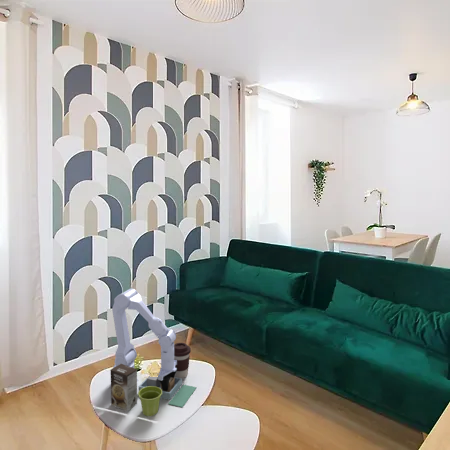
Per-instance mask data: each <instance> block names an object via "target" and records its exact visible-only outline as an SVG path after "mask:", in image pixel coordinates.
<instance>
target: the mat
mask: <svg viewBox="0 0 450 450" xmlns="http://www.w3.org/2000/svg"><path fill="white" fill-rule="evenodd" d="M196 390H197V386H193V385H187V384H182V386H181V387H180V388H179V389H178V391H177V392H176V393H175V394H174V396H173V397H172V398H171V399H170V400H169V402H168V405H170V406H174V407H178V408H184V406H185V405H186V403H187V402H188V401H189V399H190V398H191V396H192V395H193V394H194V392H195V391H196Z"/></svg>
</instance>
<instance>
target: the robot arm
mask: <svg viewBox="0 0 450 450" xmlns="http://www.w3.org/2000/svg"><path fill="white" fill-rule="evenodd" d="M138 292H139V291H137V290H136V289H135V288H131V287H130V288H128V289H127V290H125V291H123V292H122V293H120V294H117V296H115V298H114V299H113V305H112V308H111V309H112V316H113V317H112V318H113V322H114V328H115V329H114V331H115V335H116V341H117V349H116V350H115V354H114V355H115V359H114V365H113V367H112V369H113V368H114V367H116V366H118V365H119V364H124V365H127V366H129V367H132V368H135V360H136V359H137V357H138V355H137V354H138V353H137V351H136V349H135V347H134V346H135V345H134V344H132V343H131V340H130V339H131V338H130V333H129V326H128V319H127V311H126V310H133V311H134V310H136V312H137V313H139V315H141V316H142V317H143V319H144V320H145V321H146V322H148V328H149V329H150V330H151V332H152V333H153V334H154V335H155V336H156V337H157V339H158V341H157V342H158V345H159V346H160V355H161V356H160V366H161V367H160V369H159V373H158V374H159V375H158V380H159V381H160V383H161V386H162V389H163V390H164V391H167V390H168V385H169V380H170V378H171V377H173V378H174V377H175V374H176V372H177V370H178V368H176V367H175V365H177V360H174V344H175V342H176V339H177V333H176V332H175V331H174V330H173V329H170V328H168V327H167V325H165V323H164V321H163V319H160V318H159V317H158V316H157V317H156V316H155V315H154V314H153V313H152V312H151V310H150V308H149V307H147V304H145V303H144V300H143V299H142V295H141V294H140V293H138ZM137 382H139V379H138V378H137Z"/></svg>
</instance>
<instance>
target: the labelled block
mask: <svg viewBox="0 0 450 450" xmlns="http://www.w3.org/2000/svg"><path fill="white" fill-rule="evenodd" d="M174 386H175V378H173V377H171V378H170V380H169V385H168V390H167V391H165V392H170V391H171V390H172V389H173V387H174ZM161 390H162V391H164V390H163V389H162V386H161Z"/></svg>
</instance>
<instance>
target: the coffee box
mask: <svg viewBox="0 0 450 450" xmlns="http://www.w3.org/2000/svg"><path fill="white" fill-rule="evenodd" d="M113 367H114V366H113ZM113 367H112V368H111V369H110V370H109V371H110V401H111V402H110V403H111V406H113V407H115V408H118V409H121V410H123V411H126V412H129V411H131V409H133V408H134V407H135V406H137V405H138V381H137V379H138V369H137V368H136V367H134V368H132V367H129V366H127V365H124V364H119V365H118V366H116V367H114V368H113Z"/></svg>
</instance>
